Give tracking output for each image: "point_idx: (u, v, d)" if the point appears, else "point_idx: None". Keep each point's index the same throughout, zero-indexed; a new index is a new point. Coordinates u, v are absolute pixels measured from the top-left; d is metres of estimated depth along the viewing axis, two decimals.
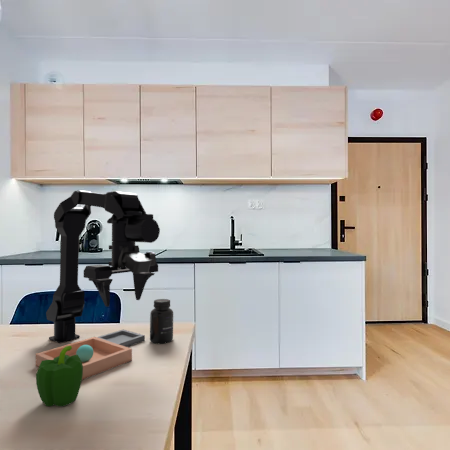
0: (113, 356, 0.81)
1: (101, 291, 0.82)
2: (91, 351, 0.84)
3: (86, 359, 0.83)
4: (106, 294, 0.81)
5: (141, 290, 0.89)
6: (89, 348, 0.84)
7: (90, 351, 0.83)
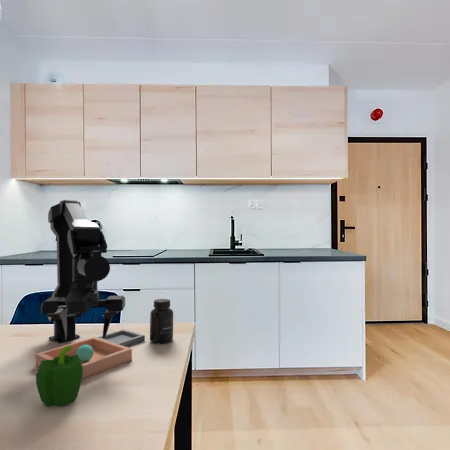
0: (113, 356, 0.81)
1: None
2: (91, 351, 0.84)
3: (86, 359, 0.83)
4: (59, 328, 0.82)
5: (104, 328, 0.84)
6: (89, 348, 0.84)
7: (90, 351, 0.83)
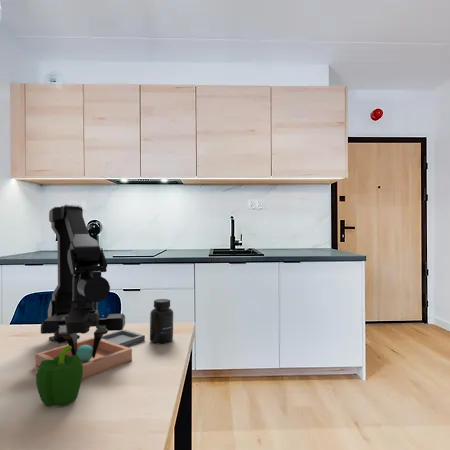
0: (113, 356, 0.81)
1: None
2: (91, 351, 0.84)
3: (86, 359, 0.83)
4: None
5: (94, 348, 0.83)
6: (89, 348, 0.84)
7: (90, 351, 0.83)
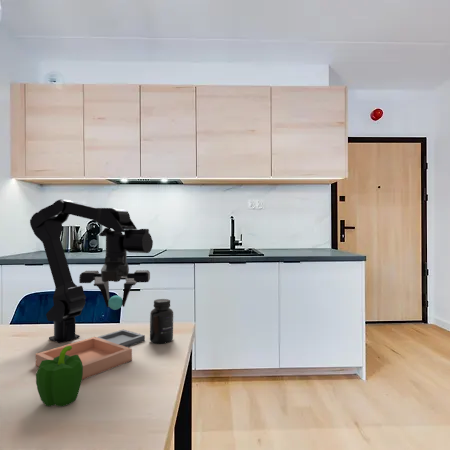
0: (113, 356, 0.81)
1: None
2: (121, 300, 0.97)
3: (117, 307, 0.96)
4: (103, 296, 0.96)
5: (124, 298, 0.97)
6: (119, 298, 0.97)
7: (120, 301, 0.97)
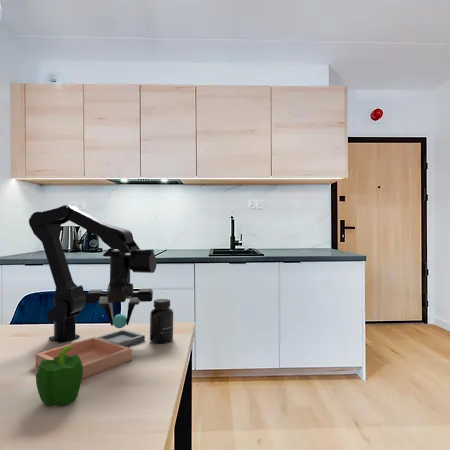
0: (113, 356, 0.81)
1: None
2: (125, 319, 0.99)
3: (121, 325, 0.98)
4: (108, 315, 0.98)
5: (128, 316, 0.99)
6: (123, 317, 0.99)
7: (125, 319, 0.99)
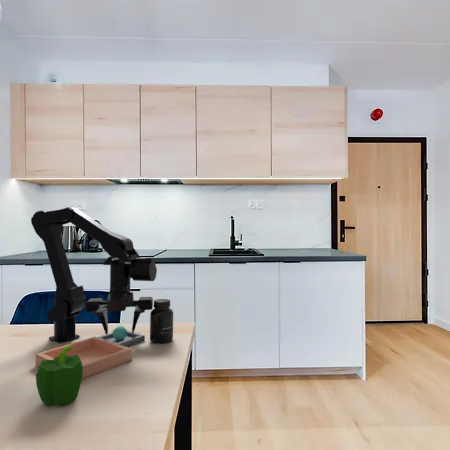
0: (113, 356, 0.81)
1: None
2: (125, 331, 0.99)
3: (121, 338, 0.98)
4: (102, 324, 0.98)
5: (133, 325, 0.99)
6: (124, 329, 0.99)
7: (125, 331, 0.99)
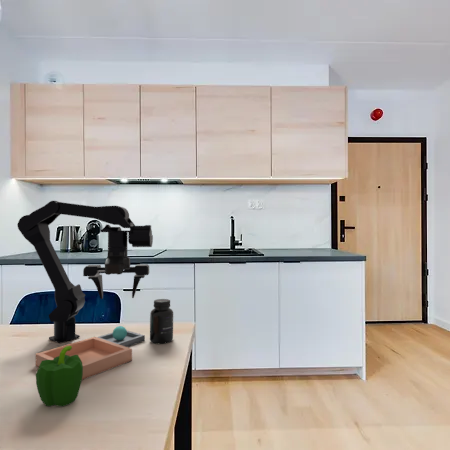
0: (113, 356, 0.81)
1: None
2: (125, 331, 0.99)
3: (121, 338, 0.98)
4: (97, 289, 1.02)
5: (133, 290, 1.03)
6: (123, 328, 0.99)
7: (125, 331, 0.99)
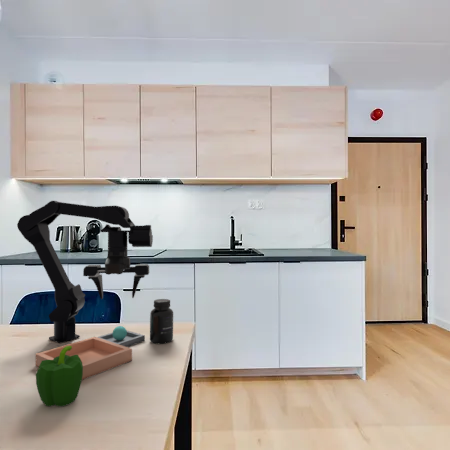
0: (113, 356, 0.81)
1: None
2: (125, 331, 0.99)
3: (121, 338, 0.98)
4: (97, 288, 1.02)
5: (133, 289, 1.04)
6: (123, 328, 0.99)
7: (124, 331, 0.99)
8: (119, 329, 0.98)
